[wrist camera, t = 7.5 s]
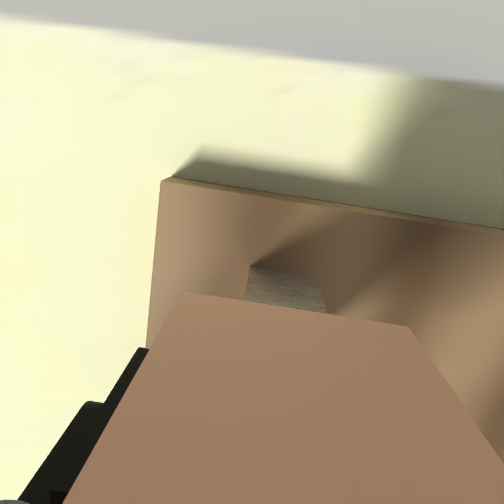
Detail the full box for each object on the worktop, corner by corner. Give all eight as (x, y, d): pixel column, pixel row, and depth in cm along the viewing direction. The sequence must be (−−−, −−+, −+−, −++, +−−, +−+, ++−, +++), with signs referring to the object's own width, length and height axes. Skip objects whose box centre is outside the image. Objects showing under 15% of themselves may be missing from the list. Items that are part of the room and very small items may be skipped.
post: (313, 264, 18) (337, 346, 11) (302, 321, 18) (317, 430, 12) (251, 255, 18) (237, 330, 11) (242, 312, 18) (224, 415, 12)
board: (617, 247, 17) (649, 258, 15) (470, 609, 22) (484, 642, 21) (170, 176, 17) (160, 180, 16) (133, 553, 23) (124, 582, 21)
